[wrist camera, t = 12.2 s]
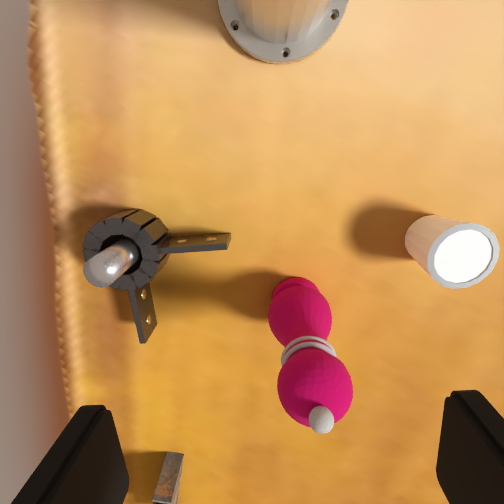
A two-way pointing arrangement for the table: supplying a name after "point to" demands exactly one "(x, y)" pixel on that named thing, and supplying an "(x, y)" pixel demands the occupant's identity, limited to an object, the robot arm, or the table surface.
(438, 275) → the white cup
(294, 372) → the pepper mill
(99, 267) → the hinge pin
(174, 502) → the rusty metal bracket
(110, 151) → the table surface
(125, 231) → the hinge
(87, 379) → the table surface
